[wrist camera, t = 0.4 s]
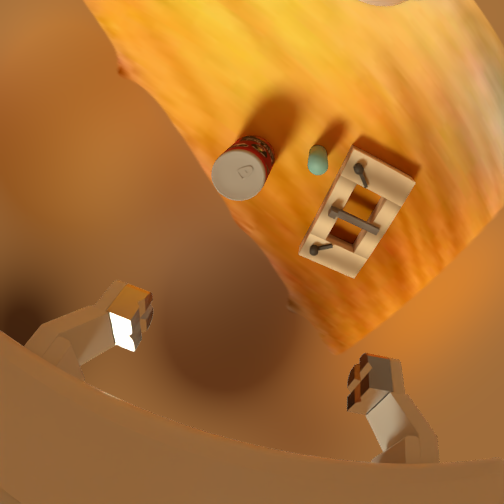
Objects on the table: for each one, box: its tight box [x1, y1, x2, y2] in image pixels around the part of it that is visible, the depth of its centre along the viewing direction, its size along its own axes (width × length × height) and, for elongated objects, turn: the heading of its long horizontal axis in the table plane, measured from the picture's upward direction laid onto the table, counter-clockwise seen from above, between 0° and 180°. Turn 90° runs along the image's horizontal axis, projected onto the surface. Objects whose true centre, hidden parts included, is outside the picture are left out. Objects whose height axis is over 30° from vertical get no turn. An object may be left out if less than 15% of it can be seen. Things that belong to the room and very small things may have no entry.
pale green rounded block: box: [308, 145, 328, 175], centre depth 47 cm, size 3×3×7 cm
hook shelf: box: [298, 145, 415, 278], centre depth 52 cm, size 22×12×5 cm, turn 160°
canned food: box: [212, 136, 275, 201], centre depth 48 cm, size 8×8×11 cm
